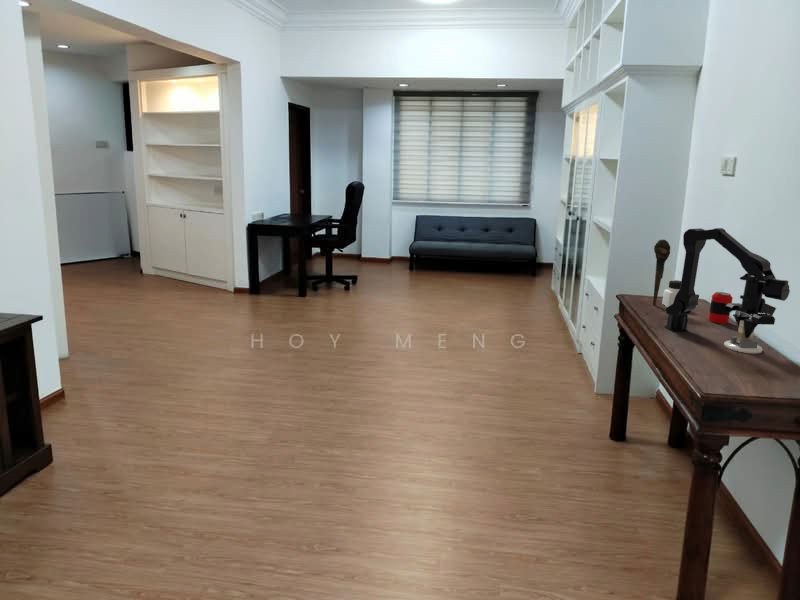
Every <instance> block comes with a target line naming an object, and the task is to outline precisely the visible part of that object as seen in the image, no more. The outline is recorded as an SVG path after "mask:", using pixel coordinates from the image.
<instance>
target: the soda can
mask: <svg viewBox="0 0 800 600" xmlns="http://www.w3.org/2000/svg"><path fill="white" fill-rule="evenodd" d="M710 301H711V302H710V306H709V312H708V318H707V320H708V322H711V323H715V324H722V325H724V324H728V323H729V320H730V316H731V315H730V314H731V312H728V311H725V306H726V305H727V304H728V303H733V296H732V295H731V293H729V292H723V291H715V292H714V293H713V294H711V300H710Z"/></svg>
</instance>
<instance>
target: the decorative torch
mask: <svg viewBox="0 0 800 600" xmlns="http://www.w3.org/2000/svg"><path fill="white" fill-rule="evenodd" d="M653 252H654V254H655V258H656V262H655V263H656V264H655V265H656V266H655V274H654V275H655V277H654V286H653V287H654V289H653V290H654V291H653V300H652V305H653V306H656V305H657V299H658V295H659V291H660V286H661V281H662V279H663V275H664V271H665V263H666V261H668V258H669V257H670V254H671V245H670V244H669V241H668V240H666V239H659V240H658V241H656V243H655V245H654V247H653Z"/></svg>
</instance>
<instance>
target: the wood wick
mask: <svg viewBox="0 0 800 600" xmlns="http://www.w3.org/2000/svg"><path fill="white" fill-rule="evenodd" d="M754 332H755V329H754V330H753V332H752V333H751V335H750V336H749V338H745V331H744V320H740V324H739V328H738V330H737V335H736V336H737V340H736V342H738V343H740V340H753V337H754Z"/></svg>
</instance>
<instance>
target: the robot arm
mask: <svg viewBox="0 0 800 600" xmlns="http://www.w3.org/2000/svg"><path fill="white" fill-rule="evenodd" d="M682 237H683V239H682V240H683V243H682V244H683V247H684V250H685V256H684V262H683V268H682V275H681V280H680V281H681V287H680V290H679V291H678V293H677V294H676V296H675V299H674V302H673V304H672V305H670V306H669V307H665V311H666V314H667V321H666V324H665V325H664V326H663V327H664V328H666V329H668V330H669V331H673V332H688V331H689V330H688V328H687V327H688V324H689V323H688V322H689V316H688V315H690V314H691V313H692V311H693V310H695V309H696V307H697V306H698V305H699V298H700V294H697V293H696V292H695V285H696V279H697V273H698V268H699V267H698V265H699V260H700V253H701V252H702V250H703V249H704V247H705V245H706V243H707V241H708V240H709V241H710V240H714V241H716V243H718V244H719V245H720V246H721V247H723V248H724V249H725V250H727V252H728V253H730V254H731V255H732V256H733V257H735V259H737V260H738V261H739V263H740V265H741V267H742V268H743V270H745V272H746V273H745V274H744V275H743V276H740V277H739V280H742V281H745V285H744V291H743V295H742V294H741V295H739V299H741V300H742V301H741V303H738V302H737V303H735V302H732V303H728V304H727V305H726V306H725V311H728V312H730V313H732V312H733V311H734V312H735V313H734V314H733V315H732V316H733V317H734V320H735V322H736V323H735V324H736V325H737V328H738V329H739V324H740V320H744V331H745V338H749V336H750V335H751V333H752V332H753V330H754V331H755V329H756V327H757V326H758V325H773V326H774V325H775V323H776V318H775V316H773V315H774V314H775V311H776V310H777V307H775V306H773V305H770V304H768V303H766V300H765V298H769V299H773V300H774V299H775V300H778V301H783V302H784V301H786V300H787V299H788V297H789V295H790V285H789V280H786V279H777V278H776V276H775V274H774V273H773V271H772V268H771V262H770V260H768V259H766V258H765V257H763V256H761V255H759V254H756V253H754V252H752V251H751V250H749V249H748V248H746V247H745V246H744V245H743V244H741V243H740V242H739V241H738V240H737V239H736V238H734V237H733V236H732V235H731V234H729V233H728V232H727V231H726V230H725V228H723V227H722V228H721V227H719V228H718V227H715V228H713V229H704V228H689V229H687V230H685V231H684V233H683V236H682ZM763 296H764V297H765V298H763Z"/></svg>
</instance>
